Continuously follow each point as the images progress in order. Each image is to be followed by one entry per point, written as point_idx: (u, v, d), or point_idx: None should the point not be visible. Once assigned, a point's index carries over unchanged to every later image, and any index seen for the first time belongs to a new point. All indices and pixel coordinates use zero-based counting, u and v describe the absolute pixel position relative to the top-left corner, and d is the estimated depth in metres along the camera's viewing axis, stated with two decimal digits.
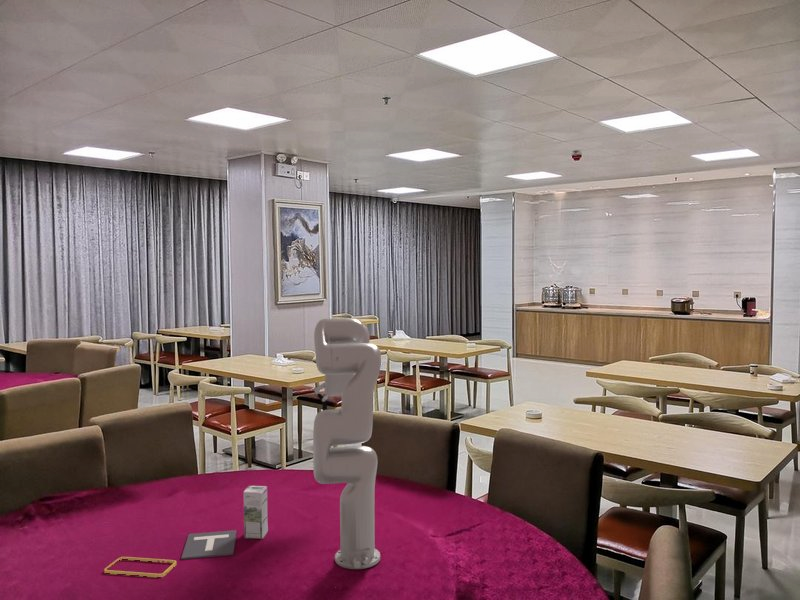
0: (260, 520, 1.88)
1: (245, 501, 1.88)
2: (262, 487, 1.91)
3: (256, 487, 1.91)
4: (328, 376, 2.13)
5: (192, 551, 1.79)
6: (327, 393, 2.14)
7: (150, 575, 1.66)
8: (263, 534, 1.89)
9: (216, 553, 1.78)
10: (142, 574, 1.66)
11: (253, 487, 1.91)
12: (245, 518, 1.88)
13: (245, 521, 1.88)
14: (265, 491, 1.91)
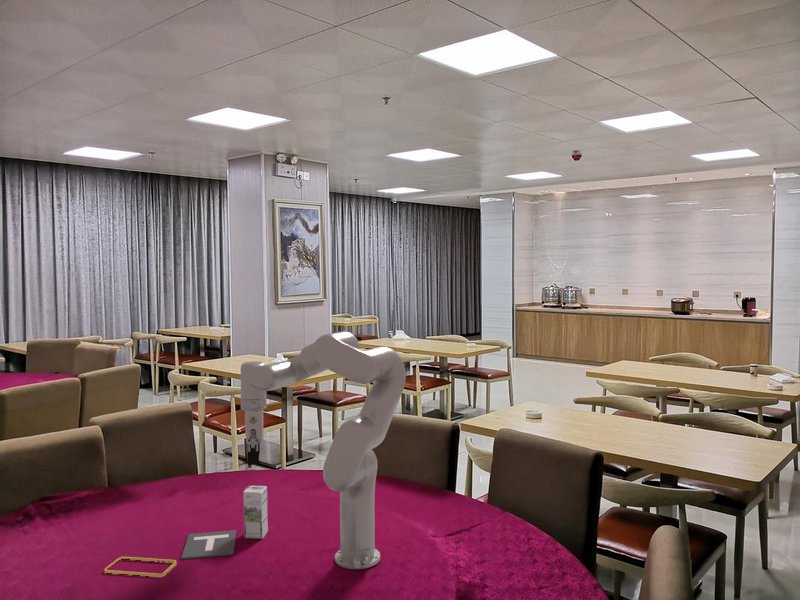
0: (260, 520, 1.88)
1: (245, 501, 1.88)
2: (262, 487, 1.91)
3: (256, 487, 1.91)
4: (262, 420, 1.86)
5: (192, 551, 1.79)
6: (262, 439, 1.86)
7: (150, 575, 1.66)
8: (263, 534, 1.89)
9: (216, 553, 1.78)
10: (142, 574, 1.66)
11: (253, 487, 1.91)
12: (245, 518, 1.88)
13: (245, 521, 1.88)
14: (265, 491, 1.91)
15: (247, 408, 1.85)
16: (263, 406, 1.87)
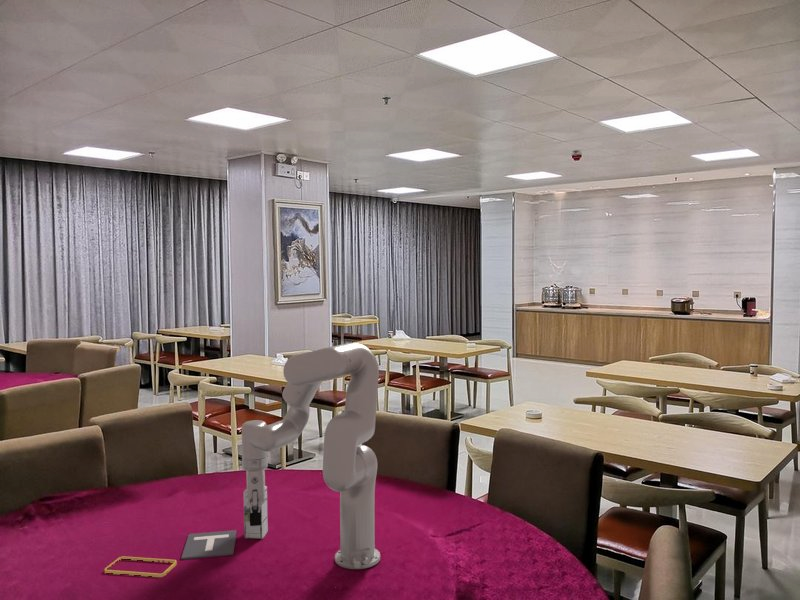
0: None
1: (245, 501, 1.88)
2: None
3: None
4: (263, 479, 1.87)
5: (192, 551, 1.79)
6: (264, 499, 1.87)
7: (150, 575, 1.66)
8: (263, 534, 1.89)
9: (216, 553, 1.78)
10: (142, 574, 1.66)
11: None
12: (245, 518, 1.88)
13: (245, 521, 1.88)
14: (265, 491, 1.91)
15: (248, 468, 1.86)
16: (264, 465, 1.88)
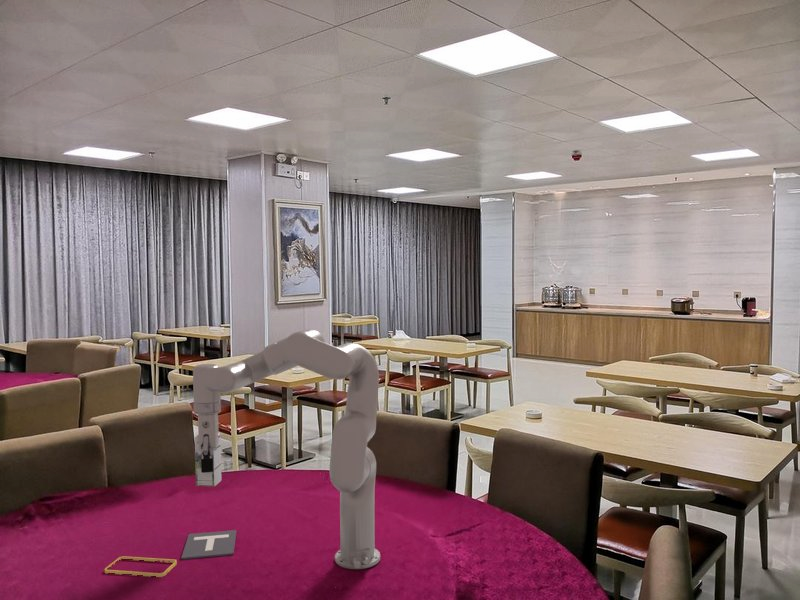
0: None
1: (196, 447, 1.80)
2: None
3: None
4: (215, 424, 1.79)
5: (192, 551, 1.79)
6: (216, 445, 1.79)
7: (151, 575, 1.66)
8: (215, 482, 1.82)
9: (216, 553, 1.78)
10: (143, 574, 1.66)
11: None
12: (196, 465, 1.81)
13: (196, 468, 1.81)
14: (218, 437, 1.83)
15: (200, 412, 1.79)
16: (217, 410, 1.81)
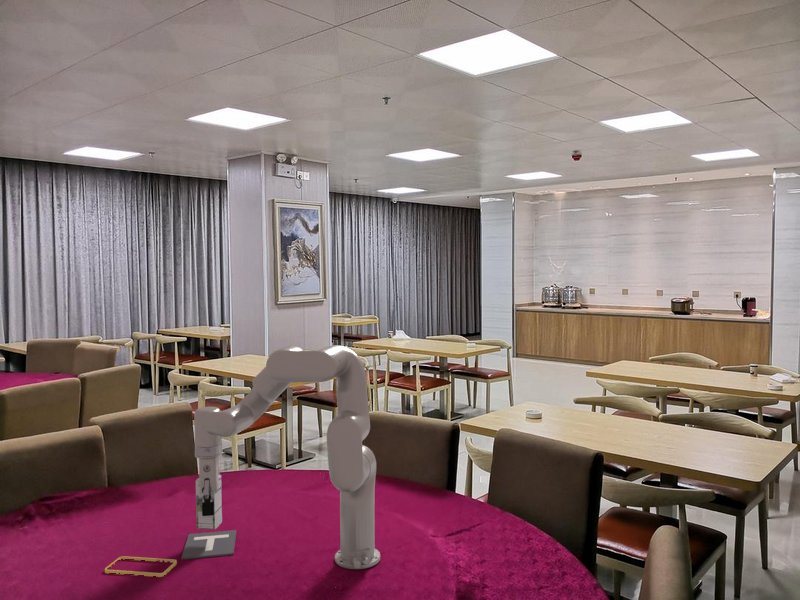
0: None
1: (197, 490, 1.81)
2: None
3: None
4: (216, 468, 1.80)
5: (192, 551, 1.79)
6: (217, 488, 1.80)
7: (151, 574, 1.66)
8: (216, 524, 1.82)
9: (216, 553, 1.78)
10: (143, 573, 1.66)
11: None
12: (197, 508, 1.81)
13: (197, 511, 1.81)
14: (219, 480, 1.84)
15: (201, 456, 1.79)
16: (218, 453, 1.81)
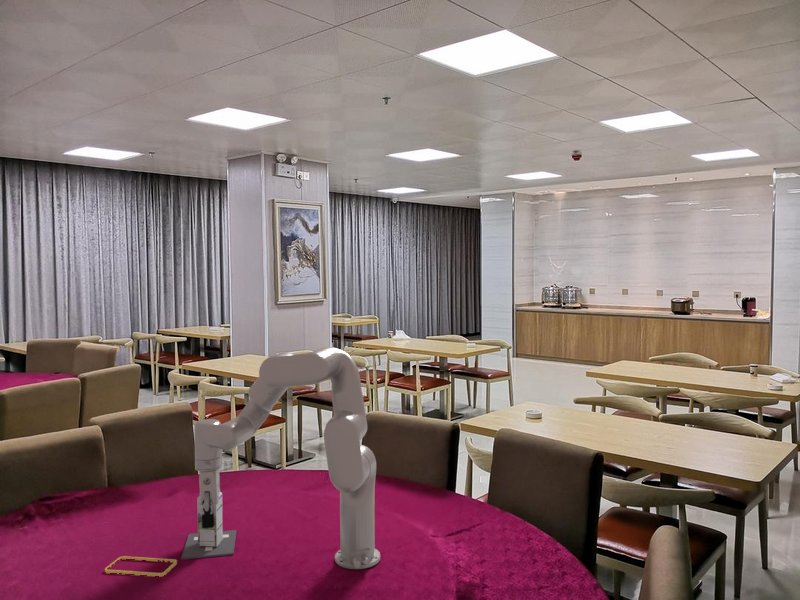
0: (215, 527, 1.81)
1: (199, 508, 1.81)
2: None
3: None
4: (216, 481, 1.80)
5: (192, 551, 1.79)
6: (217, 501, 1.80)
7: (151, 574, 1.66)
8: (218, 542, 1.82)
9: (216, 553, 1.78)
10: (143, 573, 1.66)
11: None
12: (199, 526, 1.81)
13: (199, 529, 1.81)
14: (220, 497, 1.84)
15: (201, 469, 1.80)
16: (218, 466, 1.82)
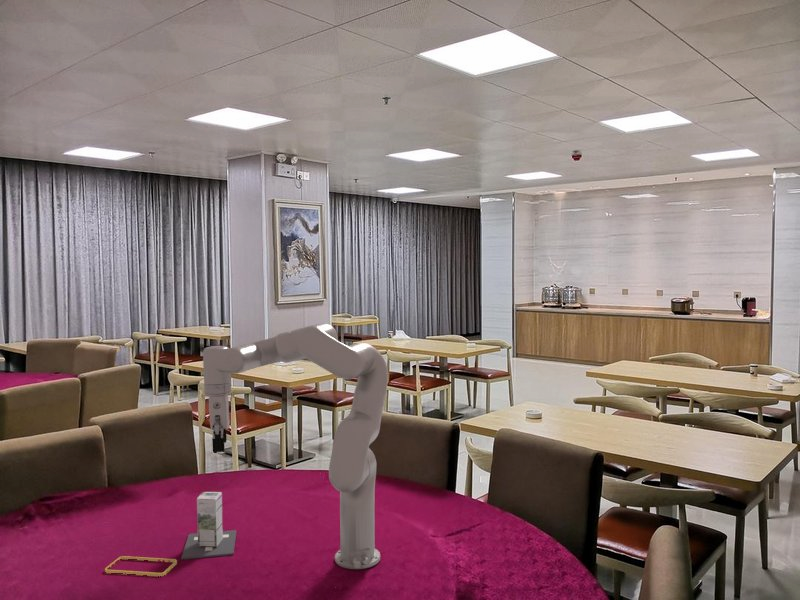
0: (215, 527, 1.81)
1: (199, 508, 1.81)
2: (217, 493, 1.84)
3: (210, 493, 1.84)
4: (226, 405, 1.80)
5: (192, 551, 1.79)
6: (227, 426, 1.80)
7: (151, 574, 1.66)
8: (218, 542, 1.82)
9: (216, 553, 1.78)
10: (143, 573, 1.66)
11: (207, 493, 1.84)
12: (199, 526, 1.81)
13: (199, 529, 1.81)
14: (220, 497, 1.84)
15: (210, 394, 1.79)
16: (227, 391, 1.81)
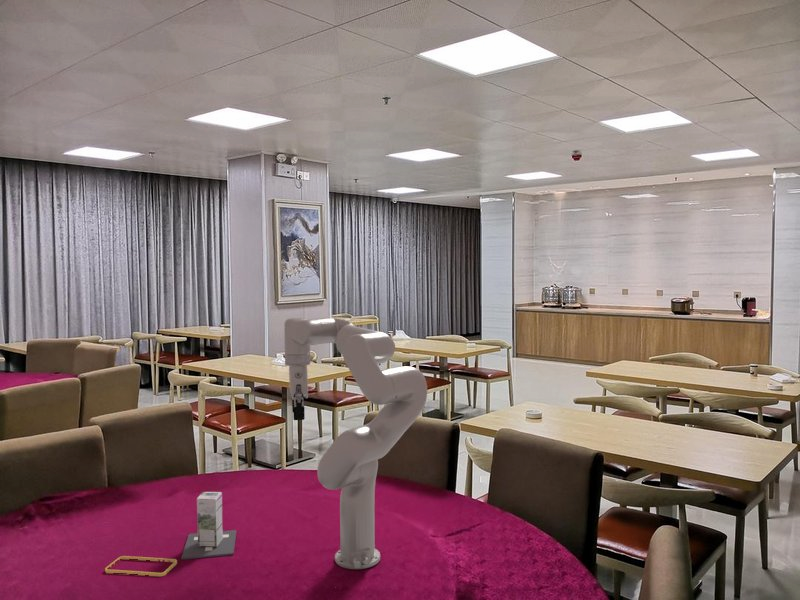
0: (215, 527, 1.81)
1: (199, 508, 1.81)
2: (217, 493, 1.84)
3: (210, 493, 1.84)
4: (307, 375, 1.86)
5: (192, 551, 1.79)
6: (307, 395, 1.86)
7: (151, 574, 1.66)
8: (218, 542, 1.82)
9: (216, 553, 1.78)
10: (143, 573, 1.66)
11: (207, 493, 1.84)
12: (199, 526, 1.81)
13: (199, 529, 1.81)
14: (220, 497, 1.84)
15: (292, 363, 1.85)
16: (307, 362, 1.87)
